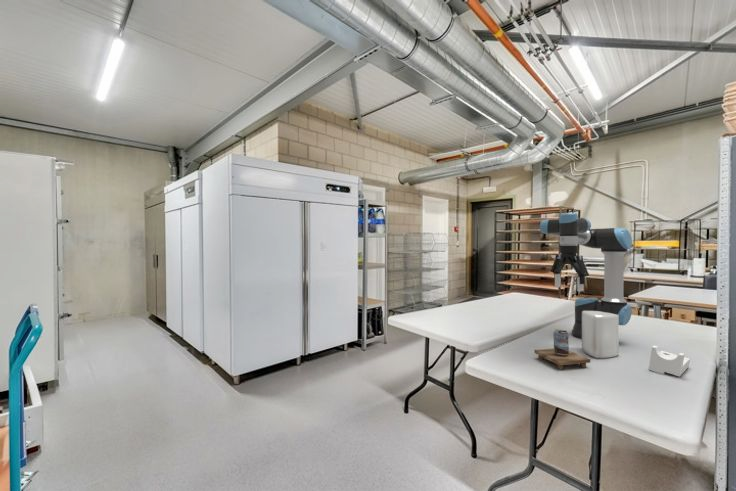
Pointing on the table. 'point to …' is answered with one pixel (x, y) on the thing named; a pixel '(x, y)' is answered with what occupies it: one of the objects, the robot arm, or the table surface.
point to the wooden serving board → (562, 358)
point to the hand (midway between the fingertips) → (568, 288)
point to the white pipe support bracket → (668, 362)
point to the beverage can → (561, 341)
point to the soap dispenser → (600, 334)
